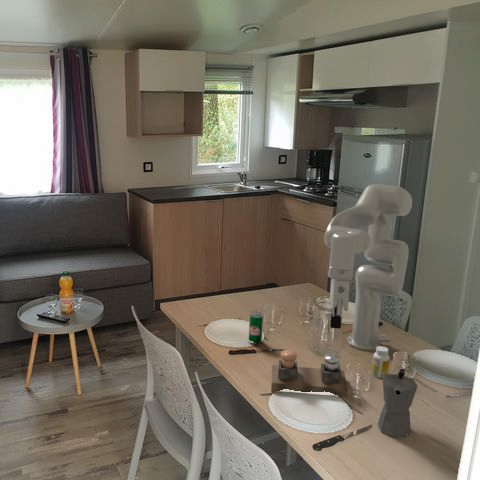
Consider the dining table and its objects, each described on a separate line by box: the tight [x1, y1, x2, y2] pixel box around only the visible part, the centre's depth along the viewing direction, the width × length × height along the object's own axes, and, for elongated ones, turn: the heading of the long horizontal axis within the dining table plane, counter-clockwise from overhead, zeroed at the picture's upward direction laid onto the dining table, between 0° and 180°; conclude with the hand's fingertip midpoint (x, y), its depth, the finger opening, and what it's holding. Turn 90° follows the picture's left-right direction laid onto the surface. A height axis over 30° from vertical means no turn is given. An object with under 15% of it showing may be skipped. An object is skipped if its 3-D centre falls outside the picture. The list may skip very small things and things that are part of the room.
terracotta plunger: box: [280, 349, 298, 369], centre depth 174 cm, size 5×5×5 cm
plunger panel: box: [270, 359, 349, 398], centre depth 175 cm, size 24×12×6 cm, turn 86°
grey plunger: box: [323, 352, 341, 372], centre depth 174 cm, size 5×5×5 cm
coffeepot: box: [377, 368, 418, 438], centre depth 153 cm, size 15×9×18 cm, turn 159°
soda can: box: [248, 310, 264, 345], centre depth 204 cm, size 5×5×12 cm
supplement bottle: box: [371, 345, 390, 379], centre depth 184 cm, size 5×5×10 cm
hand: (335, 327), depth 170 cm, fingers closed
